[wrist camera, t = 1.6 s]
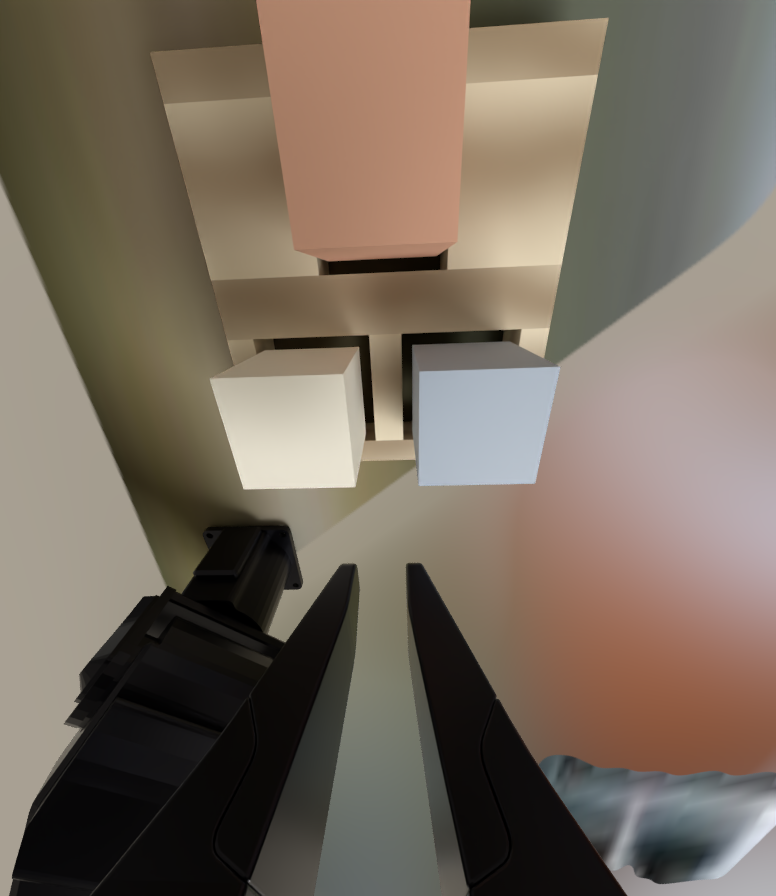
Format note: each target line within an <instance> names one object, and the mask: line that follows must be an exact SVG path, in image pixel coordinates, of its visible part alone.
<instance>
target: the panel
mask: <svg viewBox="0 0 776 896" xmlns="http://www.w3.org/2000/svg"><path fill="white" fill-rule="evenodd" d="M608 19H609V18H600V19H587V20H573V21H560V22H546V23H533V24H519V25H506V26H492V27H479V28H469V38H468V56H467V74H466V93H465V111H464V130H463V148H462V166H461V185H460V203H459V222H458V240H457V243H455V244H454V245H452V246H451V247H449V248H448V249H446V250H445V251H443V252H442V253H441V255H440V270H430V271H408V272H386V273H364V274H342V275H329V266H328V261H326V260H323V259H320V258H317V257H314V256H311V255H308V254H305V253H302V252H299V251H296V250H294V246H293V240H292V233H291V227H290V220H289V213H288V207H287V200H286V194H285V187H284V181H283V174H282V168H281V161H280V154H279V148H278V141H277V135H276V128H275V122H274V115H273V108H272V102H271V95H270V89H269V82H268V76H267V69H266V62H265V56H264V49H263V44H250V45H236V46H223V47H209V48H196V49H182V50H169V51H155V52H150V55H151V59H152V62H153V66H154V70H155V74H156V77H157V81H158V85H159V88H160V92H161V96H162V100H163V103H164V107H165V111H166V115H167V118H168V122H169V126H170V130H171V133H172V137H173V141H174V144H175V148H176V152H177V156H178V159H179V163H180V167H181V171H182V174H183V178H184V182H185V185H186V189H187V193H188V197H189V200H190V204H191V208H192V212H193V215H194V219H195V223H196V227H197V230H198V234H199V238H200V241H201V245H202V249H203V253H204V256H205V260H206V264H207V268H208V271H209V275H210V279H211V282H212V286H213V290H214V294H215V297H216V301H217V305H218V309H219V312H220V316H221V320H222V324H223V327H224V331H225V335H226V338H227V342H228V346H229V350H230V353H231V357H232V361H233V365H234V366H235V365H237V364H239V363H241V362H243V361H245V360H247V359H249V358H251V357H253V356H255V355H257V354H259V353H261V352H263V351H265V350H275V346H274V341H273V339H276V338H303V337H329V336H355V335H369V342H370V357H371V373H372V389H373V404H374V420H375V423H365V428H366V436H365V441H364V446H363V451H362V456H361V461H374V460H416V459H415V450H414V441H413V432H412V422H403V400H402V345H401V334H407V333H433V332H460V331H486V330H504V333H503V340H502V342H505V341H510V342H512V343H514V344H516V345H518V346H520V347H522V348H524V349H526V350H528V351H530V352H532V353H534V354H536V355H538V356H540V357H542V358H544V354H545V349H546V344H547V339H548V333H549V328H550V323H551V318H552V312H553V307H554V302H555V297H556V291H557V286H558V281H559V276H560V270H561V265H562V260H563V255H564V249H565V244H566V239H567V234H568V228H569V223H570V218H571V213H572V208H573V202H574V197H575V192H576V187H577V181H578V176H579V171H580V166H581V160H582V155H583V150H584V145H585V139H586V134H587V129H588V124H589V118H590V113H591V108H592V103H593V97H594V92H595V87H596V82H597V76H598V71H599V66H600V61H601V55H602V50H603V45H604V40H605V34H606V29H607V24H608Z"/></svg>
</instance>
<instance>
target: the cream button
mask: <svg viewBox="0 0 776 896" xmlns="http://www.w3.org/2000/svg"><path fill="white" fill-rule="evenodd" d="M210 382H211V385H212V389H213V392H214V395H215V398H216V402H217V405H218V408H219V411H220V414H221V418H222V421H223V424H224V427H225V431H226V434H227V437H228V440H229V443H230V447H231V450H232V453H233V456H234V460H235V463H236V466H237V469H238V472H239V476H240V479H241V482H242V485H243V489H287V488H337V487H355V486H356V481H357V476H358V471H359V466H360V461H361V456H362V451H363V446H364V441H365V436H366V428H365V415H364V403H363V390H362V378H361V365H360V353H359V347H342V348H314V349H287V350H265V351H263V352H261V353H259V354H257V355H255V356H253V357H251V358H249V359H247V360H245V361H243V362H241V363H239V364H237V365H235V366H233V367H231V368H229V369H227V370H225V371H223V372H221V373H219V374H218V375H216V376H214V377H212V378H210Z"/></svg>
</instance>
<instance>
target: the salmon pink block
mask: <svg viewBox="0 0 776 896" xmlns="http://www.w3.org/2000/svg"><path fill="white" fill-rule="evenodd" d="M470 1H471V0H256V3H257V10H258V16H259V23H260V30H261V36H262V43H263V49H264V56H265V62H266V69H267V76H268V82H269V89H270V95H271V102H272V108H273V115H274V122H275V128H276V135H277V141H278V148H279V154H280V161H281V168H282V174H283V181H284V187H285V194H286V200H287V207H288V213H289V220H290V227H291V233H292V240H293V246H294V250H296V251H299V252H302V253H305V254H308V255H311V256H314V257H317V258H320V259H323V260H326V261H347V260H368V259H389V258H410V257H431V256H437V255H439V254H440V253H442V252H443V251H445V250H446V249H448V248H449V247H451V246H452V245H454V244H455V243H457V240H458V222H459V203H460V185H461V166H462V148H463V130H464V111H465V93H466V74H467V56H468V38H469V19H470Z"/></svg>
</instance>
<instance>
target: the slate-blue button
mask: <svg viewBox="0 0 776 896" xmlns="http://www.w3.org/2000/svg"><path fill="white" fill-rule="evenodd" d="M559 371H560V366H558V365H556V364H554V363H552V362H550V361H548V360H546V359H544V358H542V357H540V356H538V355H536V354H534V353H532V352H530V351H528V350H526V349H524V348H522V347H520V346H518V345H516V344H514V343H512V342H510V341H505V342H477V343H450V344H423V345H412V432H413V441H414V450H415V459H416V468H417V476H418V484H419V486H430V485H431V486H434V485H435V486H436V485H484V484H485V485H486V484H534V483H535V480H536V476H537V472H538V467H539V463H540V458H541V453H542V449H543V444H544V440H545V435H546V430H547V426H548V421H549V416H550V412H551V408H552V403H553V398H554V394H555V389H556V385H557V380H558V375H559Z"/></svg>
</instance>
